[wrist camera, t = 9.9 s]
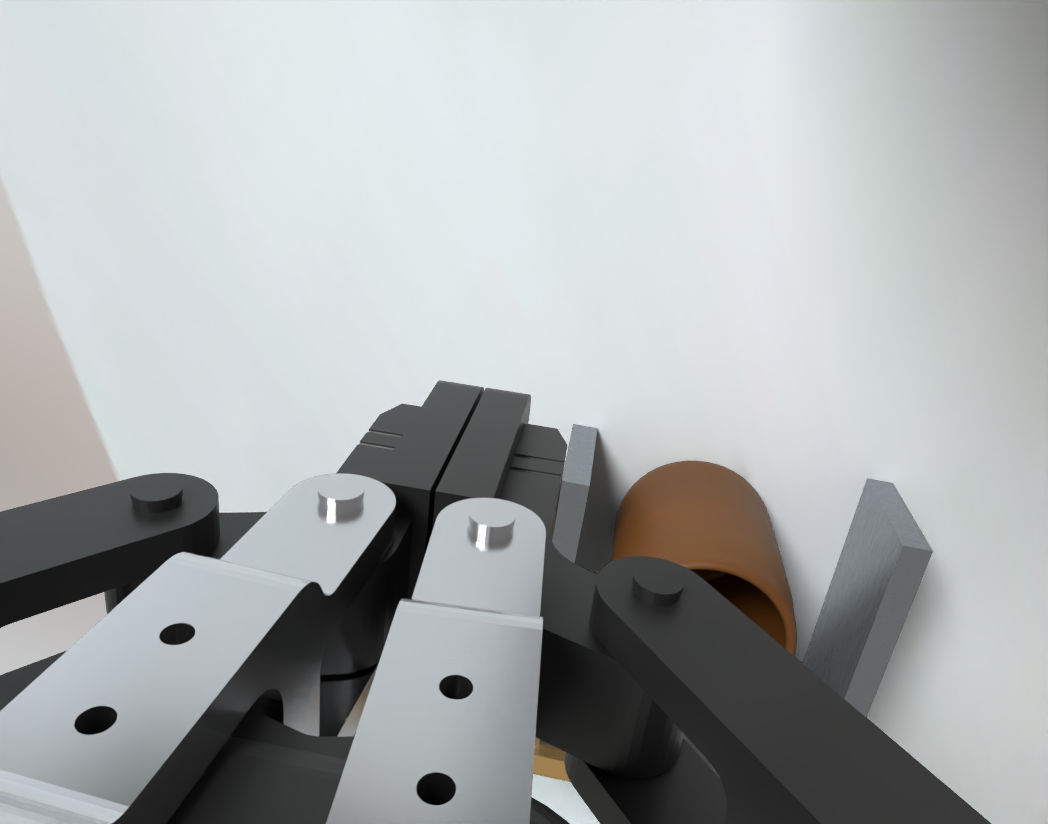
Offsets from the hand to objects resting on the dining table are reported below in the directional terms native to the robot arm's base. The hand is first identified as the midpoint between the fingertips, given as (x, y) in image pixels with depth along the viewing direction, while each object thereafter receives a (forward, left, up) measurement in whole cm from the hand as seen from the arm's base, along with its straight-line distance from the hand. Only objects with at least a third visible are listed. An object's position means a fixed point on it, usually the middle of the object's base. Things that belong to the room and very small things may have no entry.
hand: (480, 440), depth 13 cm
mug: (+17, +9, -25) cm, 31 cm away
